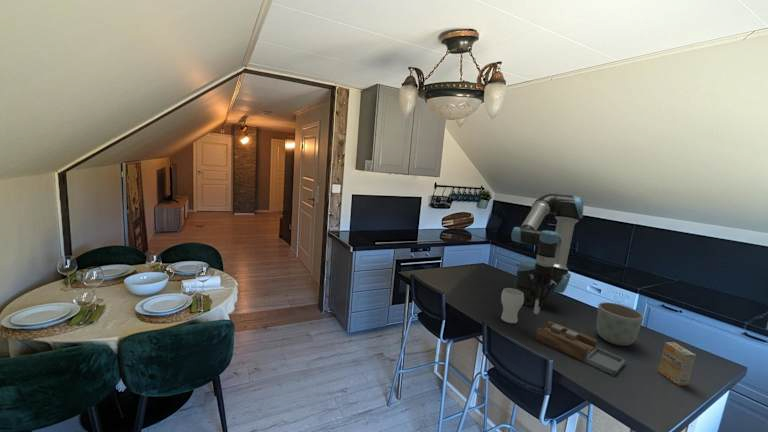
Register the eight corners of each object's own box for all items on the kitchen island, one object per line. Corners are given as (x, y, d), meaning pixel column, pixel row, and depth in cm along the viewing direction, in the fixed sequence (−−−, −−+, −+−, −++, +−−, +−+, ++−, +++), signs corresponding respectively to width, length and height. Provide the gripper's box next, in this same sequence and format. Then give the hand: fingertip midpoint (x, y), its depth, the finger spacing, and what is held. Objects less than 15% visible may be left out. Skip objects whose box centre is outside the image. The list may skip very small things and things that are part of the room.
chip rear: (553, 331, 150) (555, 323, 149) (562, 335, 147) (564, 327, 146) (549, 334, 147) (551, 326, 146) (559, 338, 144) (560, 330, 143)
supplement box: (657, 371, 130) (664, 341, 128) (668, 371, 130) (675, 341, 128) (677, 385, 122) (685, 354, 120) (688, 386, 122) (696, 354, 120)
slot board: (547, 331, 156) (549, 320, 155) (594, 351, 141) (597, 340, 140) (535, 339, 148) (537, 328, 147) (583, 361, 133) (586, 349, 132)
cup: (522, 326, 159) (526, 297, 156) (499, 322, 161) (503, 294, 158) (518, 316, 169) (522, 289, 167) (496, 313, 171) (500, 286, 169)
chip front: (567, 337, 145) (568, 329, 144) (577, 342, 142) (578, 333, 141) (563, 340, 143) (565, 332, 142) (573, 344, 140) (575, 336, 139)
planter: (628, 336, 158) (634, 306, 155) (643, 354, 142) (650, 322, 139) (588, 328, 163) (594, 299, 160) (598, 345, 147) (604, 313, 144)
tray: (595, 351, 141) (596, 346, 141) (624, 364, 133) (625, 359, 133) (583, 362, 132) (584, 357, 132) (614, 376, 124) (615, 371, 124)
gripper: (526, 261, 152) (519, 309, 155) (555, 269, 142) (547, 320, 146) (534, 259, 157) (526, 305, 160) (562, 267, 147) (554, 316, 150)
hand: (536, 312), depth 153 cm, fingers closed
